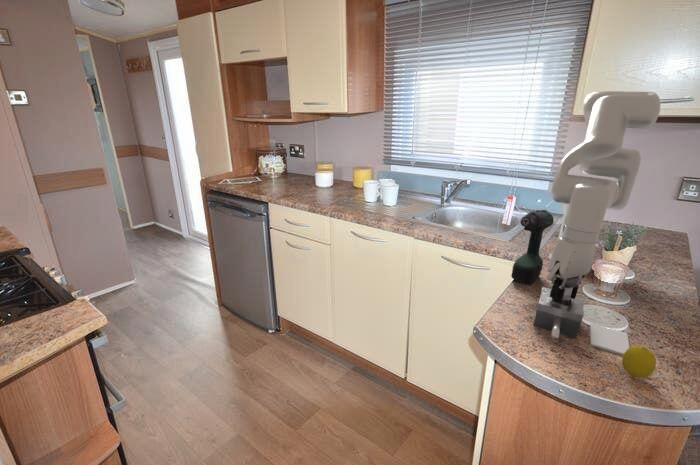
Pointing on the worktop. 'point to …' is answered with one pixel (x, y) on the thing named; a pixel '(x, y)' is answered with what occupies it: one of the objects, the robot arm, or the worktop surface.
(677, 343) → the worktop surface
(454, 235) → the worktop surface
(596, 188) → the robot arm
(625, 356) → the lemon
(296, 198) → the worktop surface
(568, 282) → the dark gray knob
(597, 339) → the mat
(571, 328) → the block
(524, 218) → the power drill
